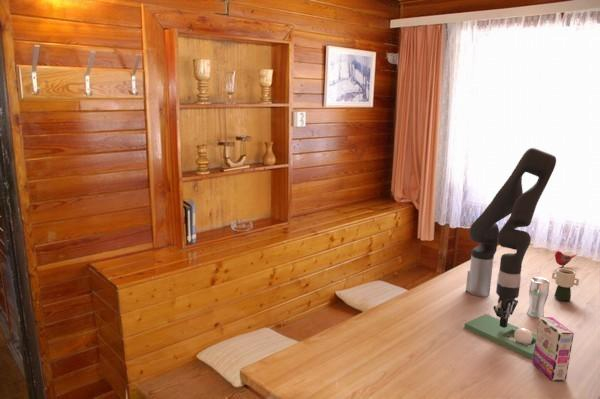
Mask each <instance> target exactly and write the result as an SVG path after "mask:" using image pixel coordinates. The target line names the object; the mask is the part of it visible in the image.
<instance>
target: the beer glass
mask: <svg viewBox="0 0 600 399" xmlns="http://www.w3.org/2000/svg"><path fill="white" fill-rule="evenodd" d="M549 291H550V281H549V280H548V279H546V278H544V277H540V276H539V277H537V276H534V277H531V279H530V283H529V290H528V296H529V297H528V299H529V305H528V309H527V315H528V316H529V317H532V318H536V319H539V318H540V317H545V311H544V308H545V305H546V303H547V300H548V296H549V293H550V292H549Z"/></svg>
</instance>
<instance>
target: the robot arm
mask: <svg viewBox="0 0 600 399" xmlns="http://www.w3.org/2000/svg"><path fill="white" fill-rule="evenodd" d="M556 164H557V157H556V156H555V155H553V154H551V153H549V152H546V151H544V150H541V149H538V148H536V147H530V148H528V149H527V150H526V151H525V152H524V153H523V155H522V156H521V158H520V160H519V161H518V163H517V164H516V166H515V168H514V169H513V171H512V172H511V174H510V175H509V177H508V178H507V180H506V181H505V182H504V183H503V185H502V187H501V188H500V189H499V190H498V192H497V193H496V194H495V196H494V197H493V199H492V200H491V201H490V203H489V204H488V206H486V208H485V210H484V211H483V212H482V213H481V214H480V215H479V216H478V217H477V219H475V221H474V222H472V224H471V225H470V228H469V237H470V240H471V241H473V242H475V243H479V244H478V245H477V246H475V247H473V248H472V250H471V254H470V255H471V256H470V266H469V270H468V271H467V276H466V283H465V284H466V287H465V292H466V291H467V292H468V293H469V295H470V294H471V295H472V296H476V297H484V298H485V297H488V296H489V295H490V293H491V292H490V291H491V284H492V275H493V268H494V258H495V257H494V256H495V254H496V252H497V248H498V245H499V246H501V247H502V248H506V249H511V250H514V251H516V252H515V253H503V254H502V255H501V257H500V262H499V269H498V274H497V280H496V291H495V293H496V295H497V296H498V299H497V305H494V306H493V307H492V308H493V311H494V313H495V315H496V317H497V318H499V320H500V326H501V327H503V328H505V327H507V324H508V322H509V318H510V317H511V316H512V315H513V313H514V311H515V309H516V307H517V305H518V302H519V300H517V299H518V297H519V295H520V288H521V280H522V279H521V278H522V275H521V274H522V265H523V262H524V258H525V255H526V253H527V251H528V248H529V246H530V244H531V241H532V239H531V238H532V237H531V234H530V233H529V232H527V231H525V230H521V229H518V228H525V227H526V228H527V227H529V226H530V225H531V223H532V220H533V217H534V215H535V214H534V213H535V211H536V208H537V205H538V202H539V200H540V198H541V197H542V194H543V192H544V191H545V189H546V187H547V184H548V183H549V180H550V178H551V176H552V174H553V172H554V170H555V167H556ZM525 173H528V174H530V175H532V176H536V177H538V178H537V181H536V183H535V184H534V185H532V187H530V188H528V190H526V191H524V190H523V184H522V183H523V176H524V174H525ZM523 191H524V192H523ZM508 216H509V217H508ZM507 217H508V219H507V221H506V222H505V224H504V225H503V226H502V227H501V229H500V228H499V225H498V224H497V223H498V222H500V221H502V220H503V219H505V218H507Z"/></svg>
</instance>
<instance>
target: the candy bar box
mask: <svg viewBox="0 0 600 399" xmlns="http://www.w3.org/2000/svg"><path fill="white" fill-rule="evenodd" d="M536 329H537V330H536V335H537V336H536V343H535V350H534V357H533V358H532V363H533V364H534V365H535V366H536V367H537V368H538V369H539V370H540V371H541V372H542V373H544V375H546V377H548V378H549V379H550V380H551V381H552V382H562V381H563V382H564V381H565V382H566V381H567V376H568V370H569V364H570V358H571V354H572V347H573V341H574V340H573V339H574V334H575V333H574V332H572V331H571V330H570V329H569V328H568V327H566V326H564V324H562V323H560V322H559V321H558V320H556V319H555V318H554V317H553V316H552V317H551V316H550V317H547V316H546V317H545V316H544V317H540V318H538V324H537V328H536Z"/></svg>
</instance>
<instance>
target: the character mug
mask: <svg viewBox="0 0 600 399" xmlns="http://www.w3.org/2000/svg"><path fill="white" fill-rule="evenodd" d="M551 274H552V275H551V278H552V279H553V280H555V284H556V285H557V286H556V289H555V293H554V298H556V299H557V300H560V301H570V300H571V296H572V289H571V288H572V287H573V286H576V287H577V286H579V285H580V278H578V277H576V275H577V273H576V271H574V270H573V269H569V268H557V269H556V271H552V273H551Z"/></svg>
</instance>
